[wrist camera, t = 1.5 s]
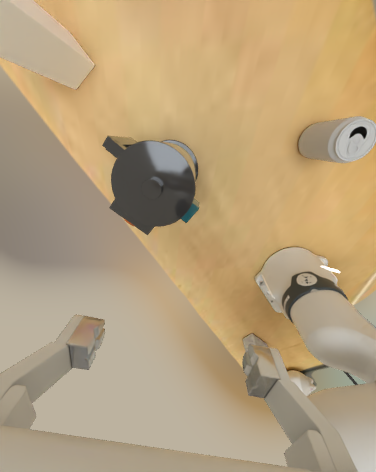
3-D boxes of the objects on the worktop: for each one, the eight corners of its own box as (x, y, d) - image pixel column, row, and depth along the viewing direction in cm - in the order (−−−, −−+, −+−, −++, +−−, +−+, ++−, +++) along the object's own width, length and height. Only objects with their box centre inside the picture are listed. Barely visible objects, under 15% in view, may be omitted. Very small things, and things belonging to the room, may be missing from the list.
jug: (175, 212, 47) (161, 256, 29) (120, 169, 43) (64, 188, 25) (212, 168, 42) (222, 188, 24) (154, 116, 38) (113, 91, 20)
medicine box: (241, 338, 66) (247, 364, 58) (252, 332, 64) (259, 358, 56) (256, 349, 68) (264, 375, 60) (267, 343, 66) (276, 370, 58)
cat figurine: (274, 408, 66) (323, 407, 62) (267, 383, 67) (314, 381, 63) (272, 388, 75) (314, 386, 71) (266, 367, 76) (307, 364, 72)
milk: (50, 59, 35) (-144, -50, 15) (69, 31, 33) (-123, -137, 13) (76, 91, 37) (-66, 30, 17) (96, 65, 35) (-38, -36, 15)
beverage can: (335, 123, 37) (390, 115, 26) (323, 159, 40) (369, 164, 29) (301, 122, 37) (343, 114, 27) (292, 157, 40) (327, 163, 29)
